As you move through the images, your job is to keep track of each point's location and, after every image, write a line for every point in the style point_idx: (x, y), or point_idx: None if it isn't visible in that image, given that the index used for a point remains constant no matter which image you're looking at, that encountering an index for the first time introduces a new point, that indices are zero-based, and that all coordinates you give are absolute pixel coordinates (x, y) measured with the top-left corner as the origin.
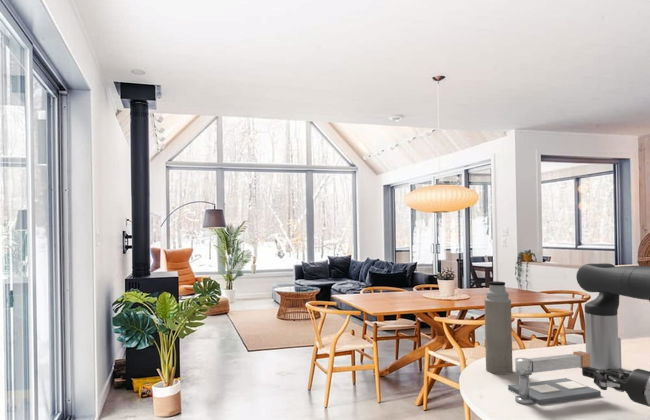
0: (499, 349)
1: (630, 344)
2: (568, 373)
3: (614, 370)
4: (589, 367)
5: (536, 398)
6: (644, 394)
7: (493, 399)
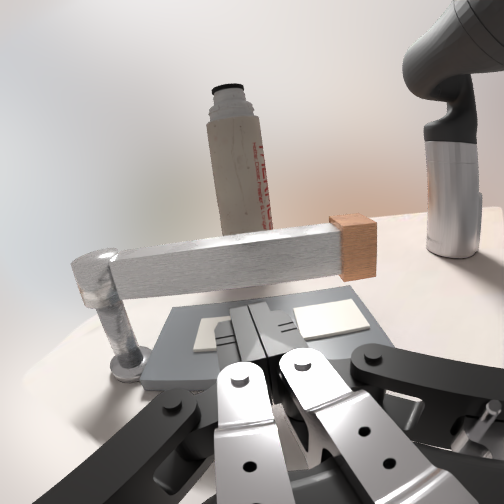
0: (230, 220)
1: (490, 212)
2: (380, 265)
3: (363, 420)
4: (258, 316)
5: (143, 372)
6: None
7: (95, 343)
